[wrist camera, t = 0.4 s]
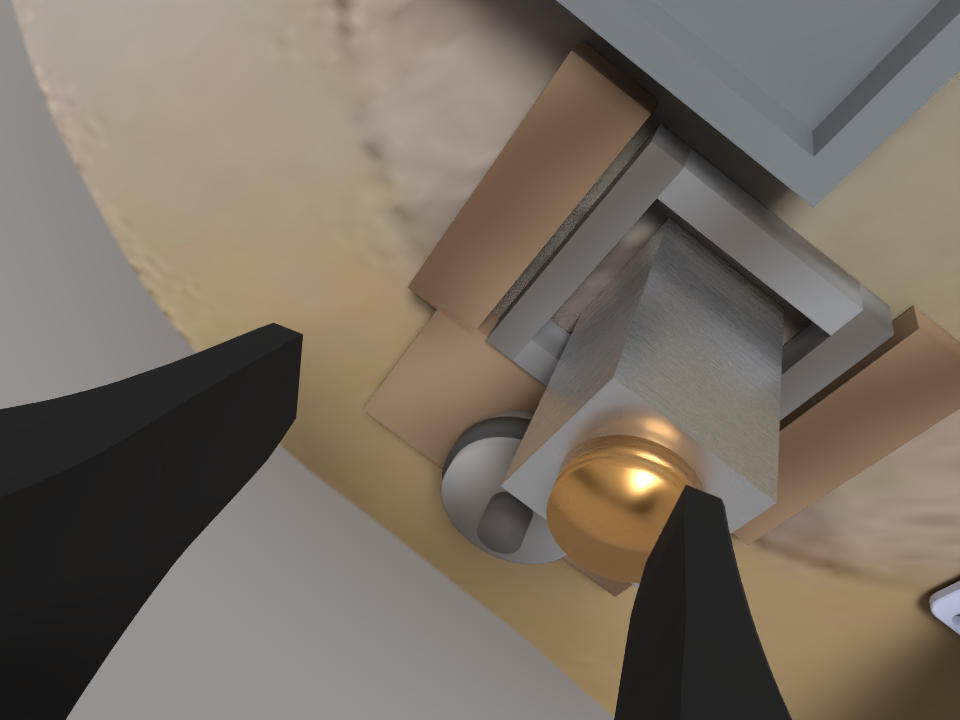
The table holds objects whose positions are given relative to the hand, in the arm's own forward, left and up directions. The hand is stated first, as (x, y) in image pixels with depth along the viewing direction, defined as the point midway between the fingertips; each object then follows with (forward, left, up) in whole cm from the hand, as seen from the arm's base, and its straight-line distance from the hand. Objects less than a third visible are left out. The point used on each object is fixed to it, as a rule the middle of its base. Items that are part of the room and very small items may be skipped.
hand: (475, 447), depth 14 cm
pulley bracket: (-3, +3, -10) cm, 11 cm away
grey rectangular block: (-3, +1, -10) cm, 11 cm away
